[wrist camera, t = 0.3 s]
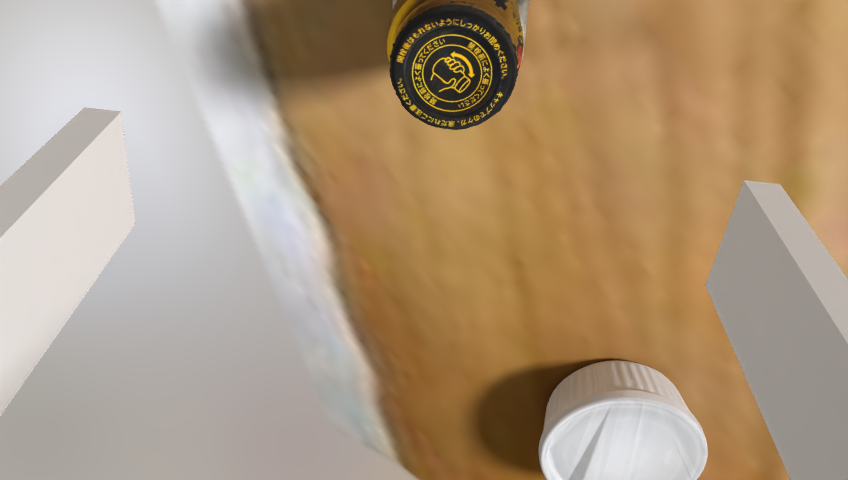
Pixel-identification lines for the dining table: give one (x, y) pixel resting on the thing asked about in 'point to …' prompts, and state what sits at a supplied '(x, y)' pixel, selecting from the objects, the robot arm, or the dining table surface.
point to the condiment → (455, 57)
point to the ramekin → (620, 427)
